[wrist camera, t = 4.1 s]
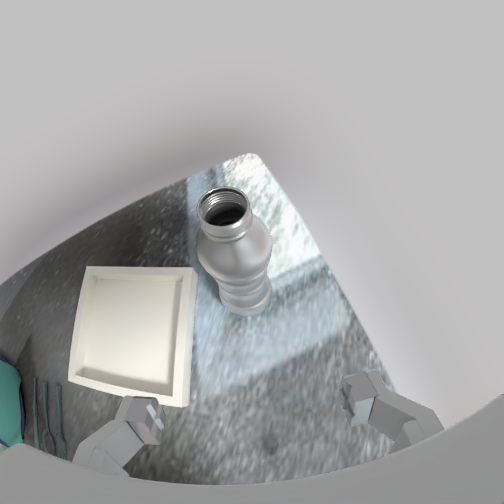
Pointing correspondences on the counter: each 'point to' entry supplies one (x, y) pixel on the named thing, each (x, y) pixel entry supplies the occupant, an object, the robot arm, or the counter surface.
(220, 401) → the counter surface
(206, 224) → the plastic bottle
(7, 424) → the cutlery set
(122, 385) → the ceramic dish
